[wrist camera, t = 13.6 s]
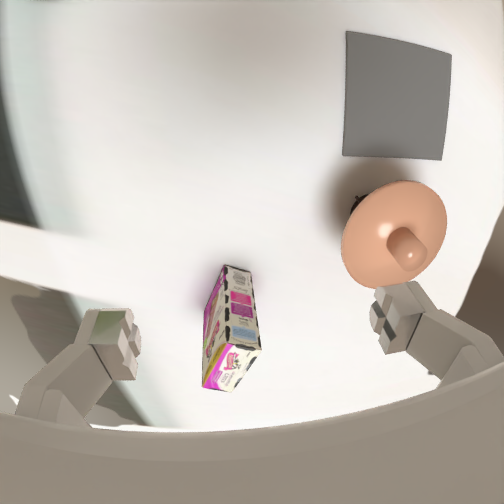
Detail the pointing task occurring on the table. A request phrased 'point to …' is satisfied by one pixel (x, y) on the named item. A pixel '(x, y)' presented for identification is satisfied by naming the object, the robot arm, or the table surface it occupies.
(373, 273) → the lid
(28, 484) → the robot arm
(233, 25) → the table surface
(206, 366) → the candy bar box
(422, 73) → the mat
